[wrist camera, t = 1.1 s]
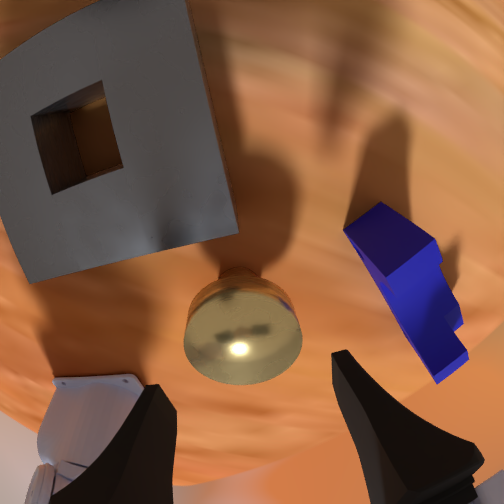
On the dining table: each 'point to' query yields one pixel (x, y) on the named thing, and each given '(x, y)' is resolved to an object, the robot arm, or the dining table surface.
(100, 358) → the dining table surface
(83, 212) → the block
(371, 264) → the blue angular block
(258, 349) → the brass pin
